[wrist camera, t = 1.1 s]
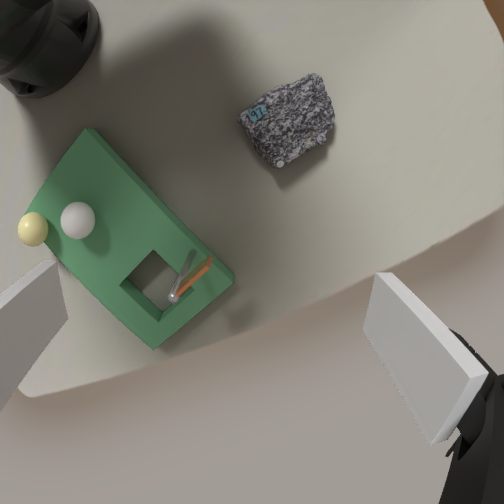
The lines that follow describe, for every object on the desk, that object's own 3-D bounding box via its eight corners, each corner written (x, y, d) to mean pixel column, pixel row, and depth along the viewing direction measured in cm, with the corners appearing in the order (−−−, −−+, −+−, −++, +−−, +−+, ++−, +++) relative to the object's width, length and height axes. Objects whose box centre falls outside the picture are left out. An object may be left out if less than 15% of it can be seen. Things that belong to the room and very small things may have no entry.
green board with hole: (33, 212, 33) (23, 216, 31) (94, 129, 31) (85, 128, 28) (157, 339, 39) (153, 350, 37) (233, 274, 37) (233, 283, 34)
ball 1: (25, 225, 31) (7, 233, 27) (40, 202, 30) (21, 208, 27) (44, 247, 32) (27, 258, 28) (59, 225, 31) (41, 234, 28)
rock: (345, 131, 32) (358, 129, 28) (267, 173, 34) (271, 176, 30) (312, 74, 30) (321, 64, 26) (232, 114, 31) (231, 109, 27)
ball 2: (65, 216, 31) (48, 224, 27) (84, 191, 30) (67, 197, 27) (87, 240, 32) (71, 251, 28) (107, 216, 31) (92, 224, 28)
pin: (187, 252, 33) (165, 298, 23) (215, 226, 32) (204, 262, 22) (192, 257, 33) (173, 305, 23) (221, 231, 33) (212, 270, 22)
